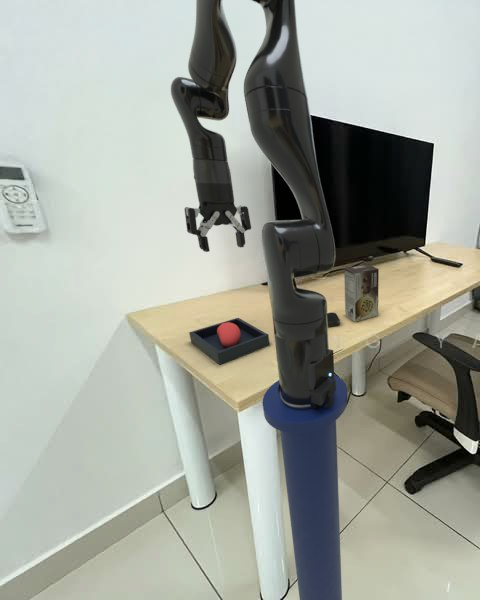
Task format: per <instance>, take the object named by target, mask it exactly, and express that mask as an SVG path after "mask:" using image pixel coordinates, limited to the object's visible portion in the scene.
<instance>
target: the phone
mask: <svg viewBox="0 0 480 600" xmlns="http://www.w3.org/2000/svg"><path fill="white" fill-rule="evenodd" d="M327 320H328V328H329V327H331V328H332V327H337V326H340V325H341V319H340V318H339V316H338V314H337V312H327Z"/></svg>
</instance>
